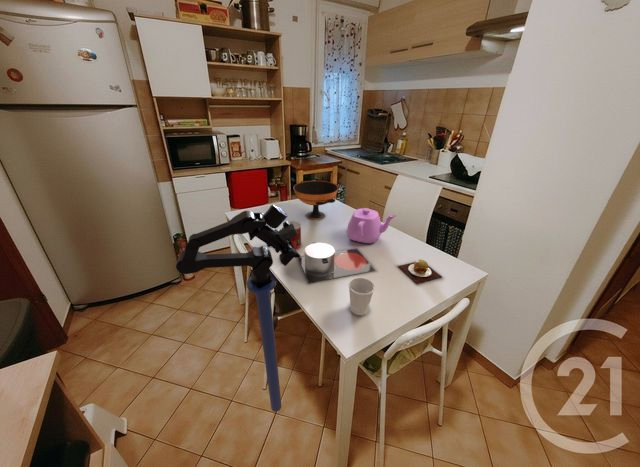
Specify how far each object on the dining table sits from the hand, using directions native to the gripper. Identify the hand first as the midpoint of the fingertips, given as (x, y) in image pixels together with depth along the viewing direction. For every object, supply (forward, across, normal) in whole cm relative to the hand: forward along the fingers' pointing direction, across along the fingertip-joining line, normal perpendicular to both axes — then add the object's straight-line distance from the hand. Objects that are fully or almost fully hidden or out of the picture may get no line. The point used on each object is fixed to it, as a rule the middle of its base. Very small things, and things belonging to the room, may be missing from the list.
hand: (299, 256), depth 104 cm
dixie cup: (+15, -27, -5) cm, 31 cm away
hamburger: (+38, -15, -28) cm, 49 cm away
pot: (+10, 0, -1) cm, 11 cm away
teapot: (+32, +18, -22) cm, 43 cm away
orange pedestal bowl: (+20, +51, -11) cm, 56 cm away
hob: (+16, 0, -6) cm, 17 cm away
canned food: (+6, +20, +4) cm, 21 cm away
